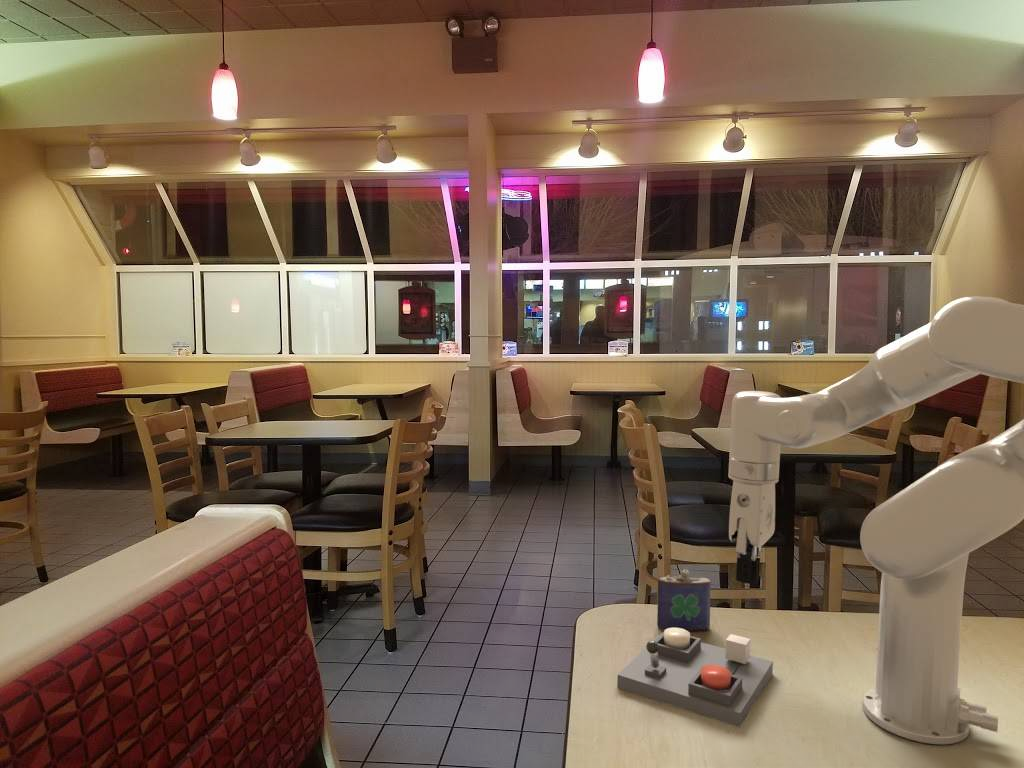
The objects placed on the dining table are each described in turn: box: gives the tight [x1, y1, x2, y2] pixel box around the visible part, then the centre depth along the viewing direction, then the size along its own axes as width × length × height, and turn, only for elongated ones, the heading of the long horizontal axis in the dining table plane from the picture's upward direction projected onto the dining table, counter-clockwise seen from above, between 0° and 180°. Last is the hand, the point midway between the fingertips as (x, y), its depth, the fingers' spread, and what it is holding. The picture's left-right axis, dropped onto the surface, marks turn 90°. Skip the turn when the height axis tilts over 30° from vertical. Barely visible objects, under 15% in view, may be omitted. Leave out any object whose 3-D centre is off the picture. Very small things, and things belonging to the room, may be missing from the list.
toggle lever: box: [645, 640, 659, 668], centre depth 102 cm, size 2×2×5 cm
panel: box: [616, 631, 774, 728], centre depth 104 cm, size 18×17×4 cm
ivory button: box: [663, 628, 691, 649], centre depth 110 cm, size 4×4×2 cm
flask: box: [656, 568, 712, 633], centre depth 122 cm, size 9×3×11 cm, turn 88°
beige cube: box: [725, 633, 751, 664], centre depth 106 cm, size 3×2×3 cm
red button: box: [701, 665, 731, 690], centre depth 98 cm, size 4×4×2 cm
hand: (747, 581), depth 111 cm, fingers closed
